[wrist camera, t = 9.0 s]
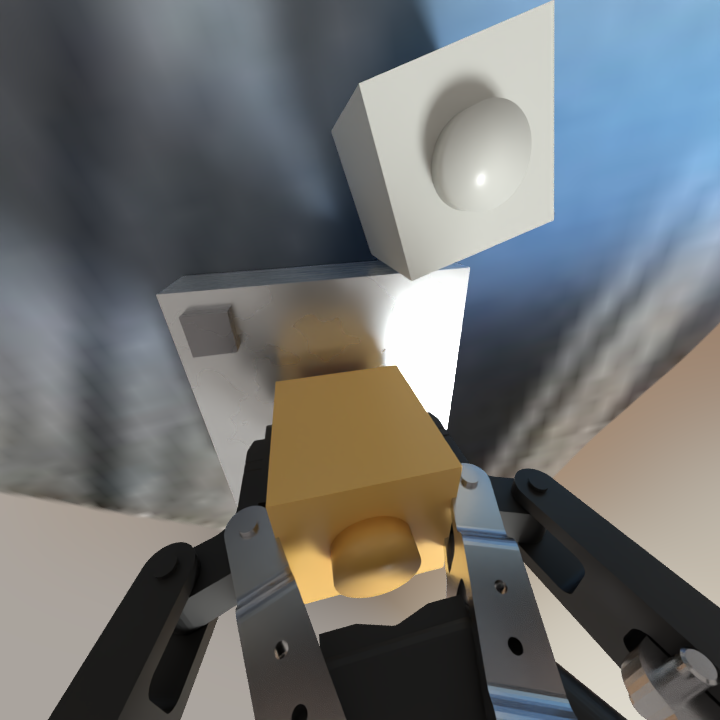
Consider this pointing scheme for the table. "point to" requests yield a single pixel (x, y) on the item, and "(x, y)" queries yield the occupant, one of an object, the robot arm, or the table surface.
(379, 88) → the grey cap
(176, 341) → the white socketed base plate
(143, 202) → the table surface
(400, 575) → the yellow knobbed cube
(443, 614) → the robot arm
